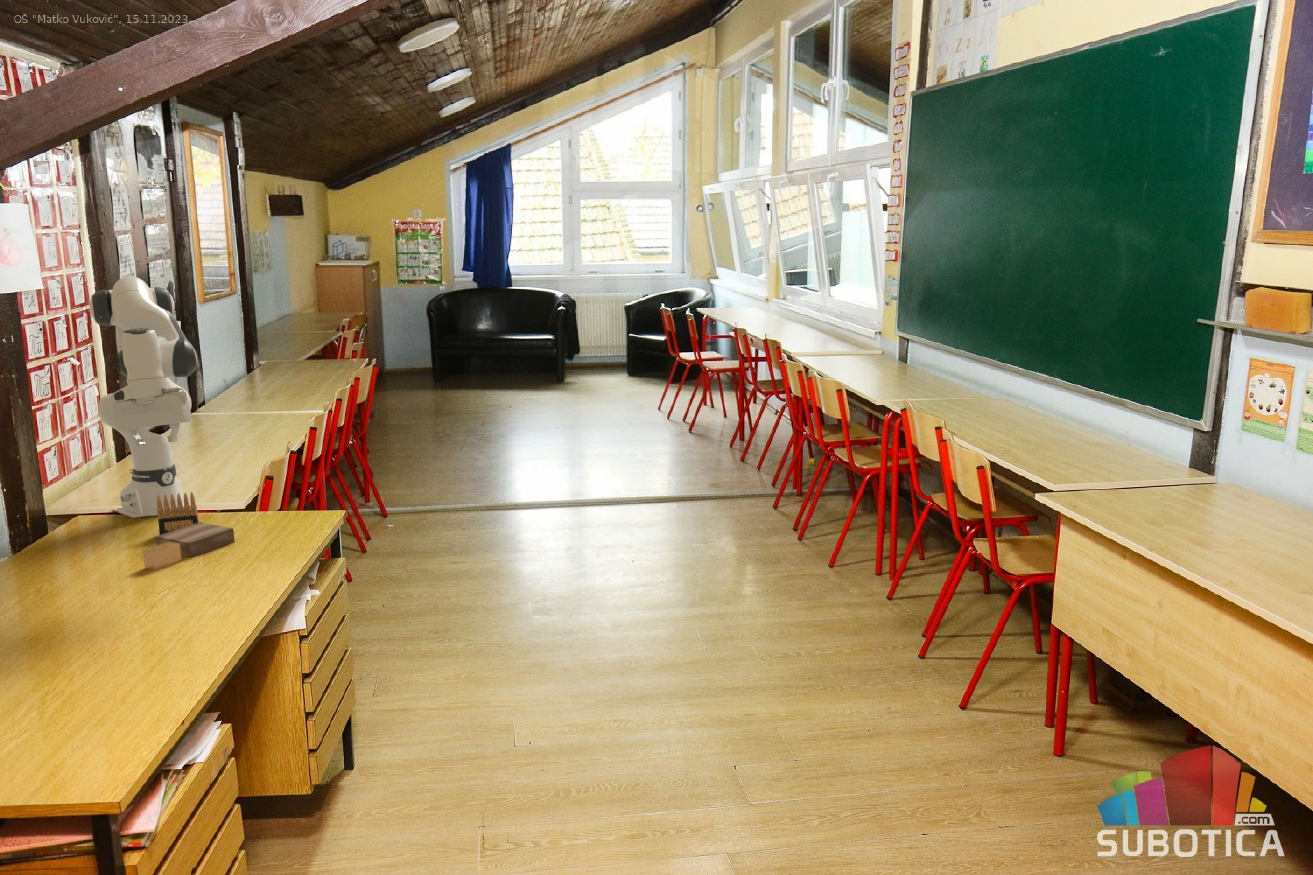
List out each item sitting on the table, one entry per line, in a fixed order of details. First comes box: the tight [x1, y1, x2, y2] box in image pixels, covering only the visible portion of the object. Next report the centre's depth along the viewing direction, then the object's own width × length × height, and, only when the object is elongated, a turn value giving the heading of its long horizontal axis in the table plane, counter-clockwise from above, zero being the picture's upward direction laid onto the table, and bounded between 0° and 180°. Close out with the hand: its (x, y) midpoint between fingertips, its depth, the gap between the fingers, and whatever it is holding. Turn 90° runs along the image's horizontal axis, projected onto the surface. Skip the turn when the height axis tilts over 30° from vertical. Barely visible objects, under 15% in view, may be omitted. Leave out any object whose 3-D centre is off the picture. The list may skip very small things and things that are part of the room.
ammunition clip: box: [157, 491, 200, 535], centre depth 281 cm, size 11×2×12 cm, turn 109°
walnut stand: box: [155, 521, 236, 558], centre depth 270 cm, size 14×14×4 cm
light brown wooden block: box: [141, 542, 183, 571], centre depth 256 cm, size 4×8×5 cm, turn 153°
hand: (156, 444), depth 249 cm, fingers open, 8 cm apart
